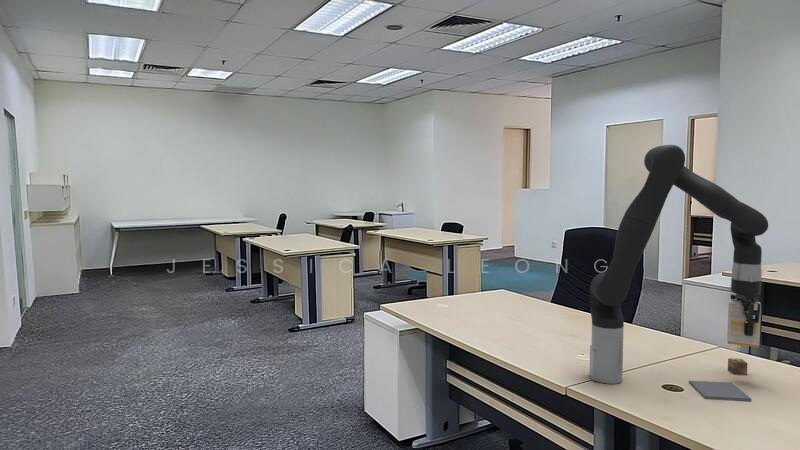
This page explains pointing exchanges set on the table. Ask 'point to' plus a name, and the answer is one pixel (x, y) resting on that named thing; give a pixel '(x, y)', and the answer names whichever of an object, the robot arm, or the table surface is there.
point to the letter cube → (737, 366)
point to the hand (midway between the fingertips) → (743, 332)
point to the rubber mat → (719, 390)
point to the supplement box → (741, 327)
